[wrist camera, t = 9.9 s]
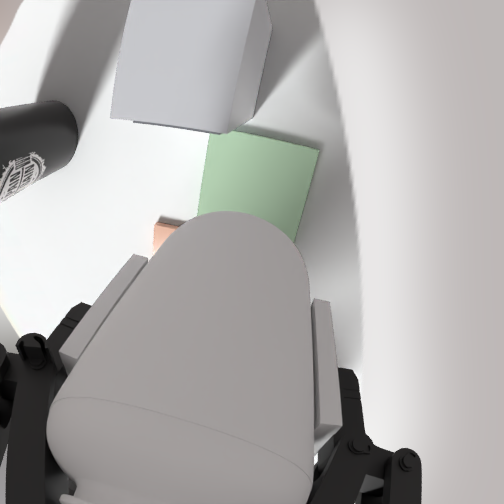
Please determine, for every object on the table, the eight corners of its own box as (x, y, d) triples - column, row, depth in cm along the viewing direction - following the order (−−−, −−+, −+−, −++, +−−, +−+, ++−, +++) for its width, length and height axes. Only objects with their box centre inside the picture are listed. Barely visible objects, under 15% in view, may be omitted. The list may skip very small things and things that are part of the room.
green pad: (292, 243, 33) (292, 247, 32) (197, 222, 33) (195, 225, 32) (318, 149, 28) (319, 151, 27) (212, 126, 28) (210, 127, 27)
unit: (252, 122, 27) (225, 141, 16) (179, 110, 27) (109, 124, 16) (273, 24, 23) (262, -27, 11) (198, 15, 23) (139, -30, 11)
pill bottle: (313, 205, 14) (337, 637, 1) (303, 335, 18) (290, 604, 5) (150, 204, 15) (-69, 478, 2) (173, 327, 19) (82, 557, 6)
